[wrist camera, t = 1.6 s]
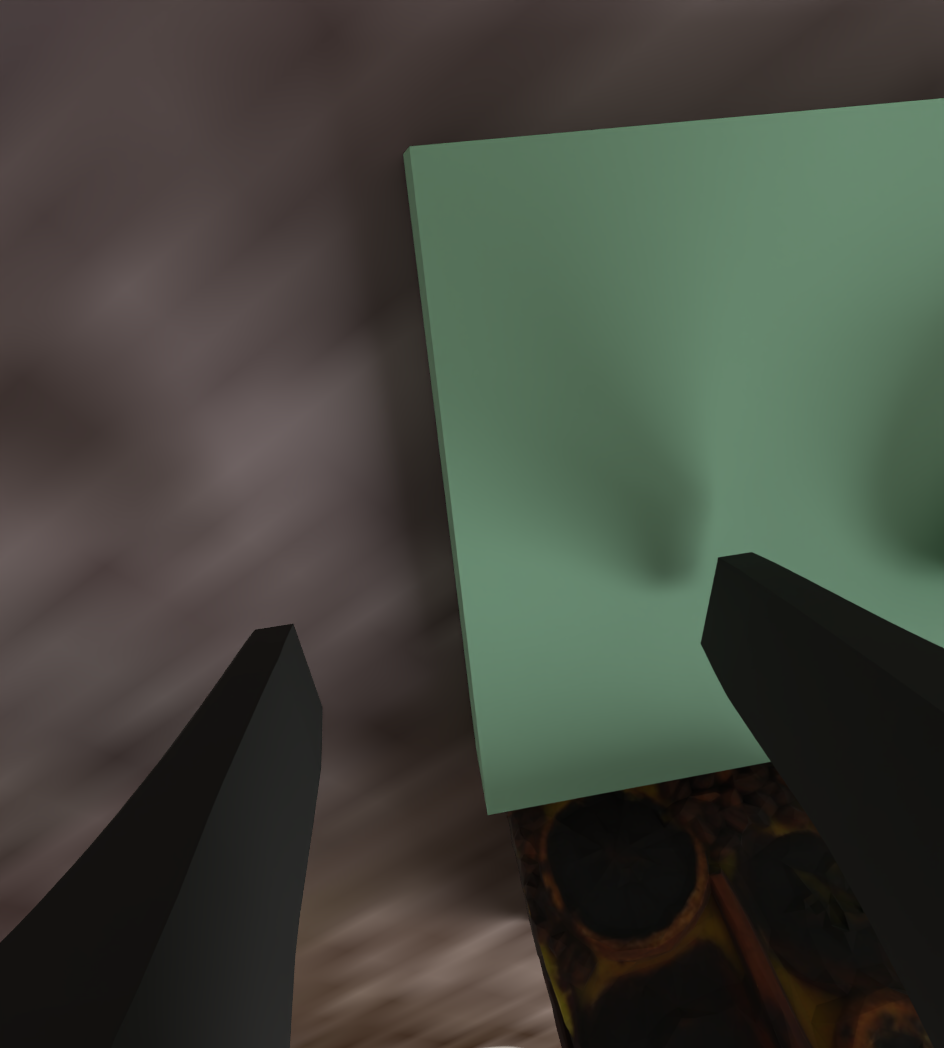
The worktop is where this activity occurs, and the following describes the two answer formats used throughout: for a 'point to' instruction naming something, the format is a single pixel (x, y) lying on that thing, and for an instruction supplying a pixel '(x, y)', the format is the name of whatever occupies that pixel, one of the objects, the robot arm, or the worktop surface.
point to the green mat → (675, 413)
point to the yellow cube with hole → (703, 922)
